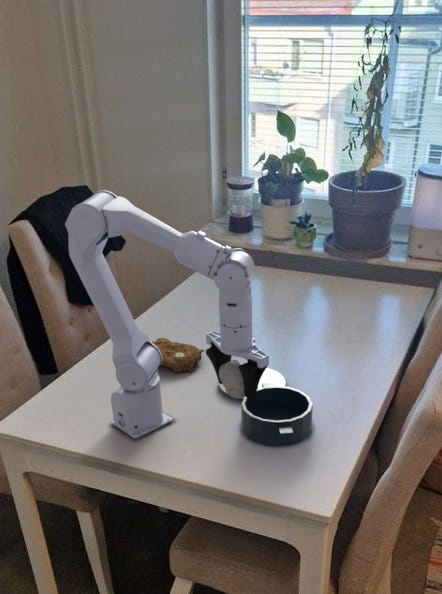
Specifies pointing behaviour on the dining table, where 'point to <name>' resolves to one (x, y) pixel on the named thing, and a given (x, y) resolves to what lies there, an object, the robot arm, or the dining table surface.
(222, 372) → the grey lumpy piece
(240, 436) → the dining table surface
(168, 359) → the decorative rock
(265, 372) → the pan lid
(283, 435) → the pan
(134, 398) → the robot arm
